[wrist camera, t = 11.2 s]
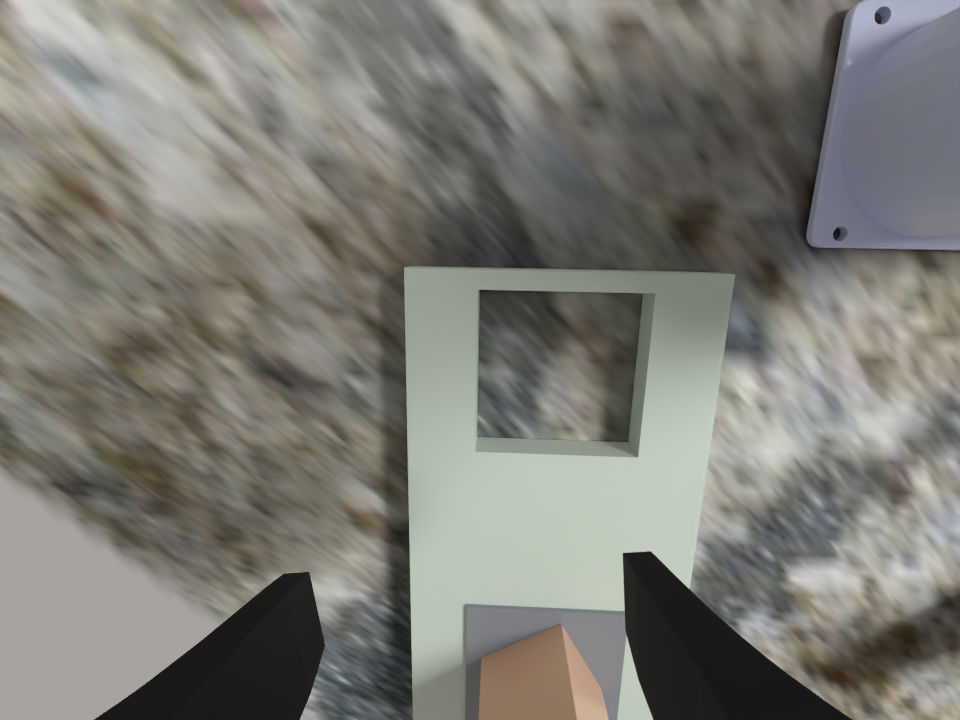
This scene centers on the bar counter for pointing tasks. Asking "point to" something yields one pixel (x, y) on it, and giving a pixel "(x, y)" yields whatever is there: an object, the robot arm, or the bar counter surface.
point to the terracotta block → (539, 681)
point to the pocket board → (549, 484)
